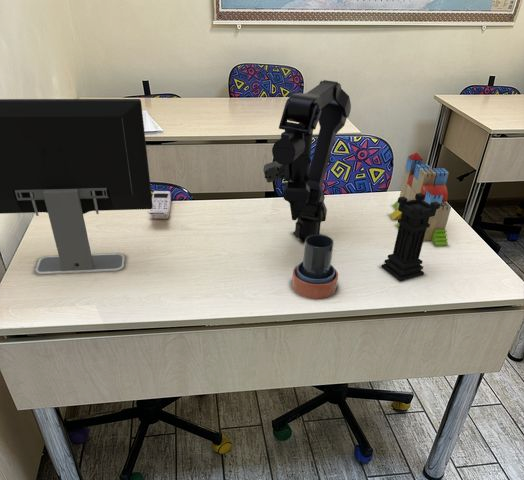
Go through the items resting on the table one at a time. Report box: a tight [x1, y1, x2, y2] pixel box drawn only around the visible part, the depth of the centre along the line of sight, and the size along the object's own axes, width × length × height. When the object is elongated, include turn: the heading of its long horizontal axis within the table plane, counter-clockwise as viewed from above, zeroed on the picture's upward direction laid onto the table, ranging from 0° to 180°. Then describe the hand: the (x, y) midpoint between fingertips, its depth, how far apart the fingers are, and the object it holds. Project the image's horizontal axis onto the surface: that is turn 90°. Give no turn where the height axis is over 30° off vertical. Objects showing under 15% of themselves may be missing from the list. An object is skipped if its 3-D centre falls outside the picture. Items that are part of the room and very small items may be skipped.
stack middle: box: [296, 261, 336, 284], centre depth 129 cm, size 10×10×5 cm
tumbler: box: [302, 233, 334, 279], centre depth 126 cm, size 7×7×12 cm
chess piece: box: [380, 193, 440, 282], centre depth 131 cm, size 8×8×20 cm
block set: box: [389, 152, 452, 247], centre depth 153 cm, size 28×14×19 cm, turn 7°
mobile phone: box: [146, 190, 172, 220], centre depth 158 cm, size 6×6×25 cm
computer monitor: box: [0, 98, 153, 275], centre depth 122 cm, size 41×8×40 cm, turn 98°
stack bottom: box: [291, 263, 339, 300], centre depth 129 cm, size 11×11×4 cm
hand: (294, 212), depth 134 cm, fingers open, 9 cm apart
